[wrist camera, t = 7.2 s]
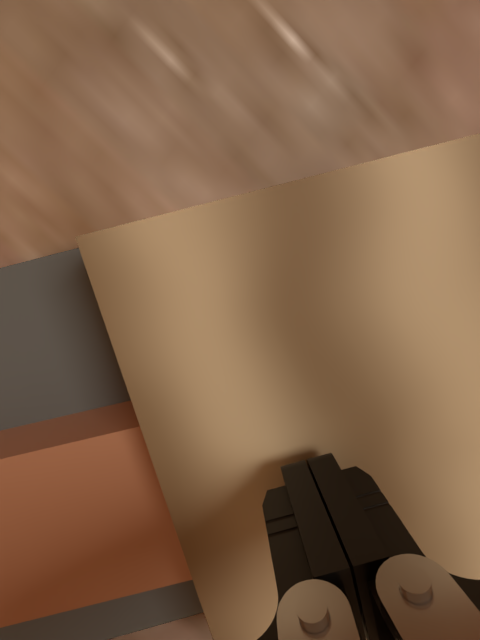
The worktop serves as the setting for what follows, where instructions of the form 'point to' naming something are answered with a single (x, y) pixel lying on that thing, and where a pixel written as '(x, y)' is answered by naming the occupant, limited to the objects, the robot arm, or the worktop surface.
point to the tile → (81, 515)
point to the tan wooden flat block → (305, 357)
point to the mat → (64, 399)
